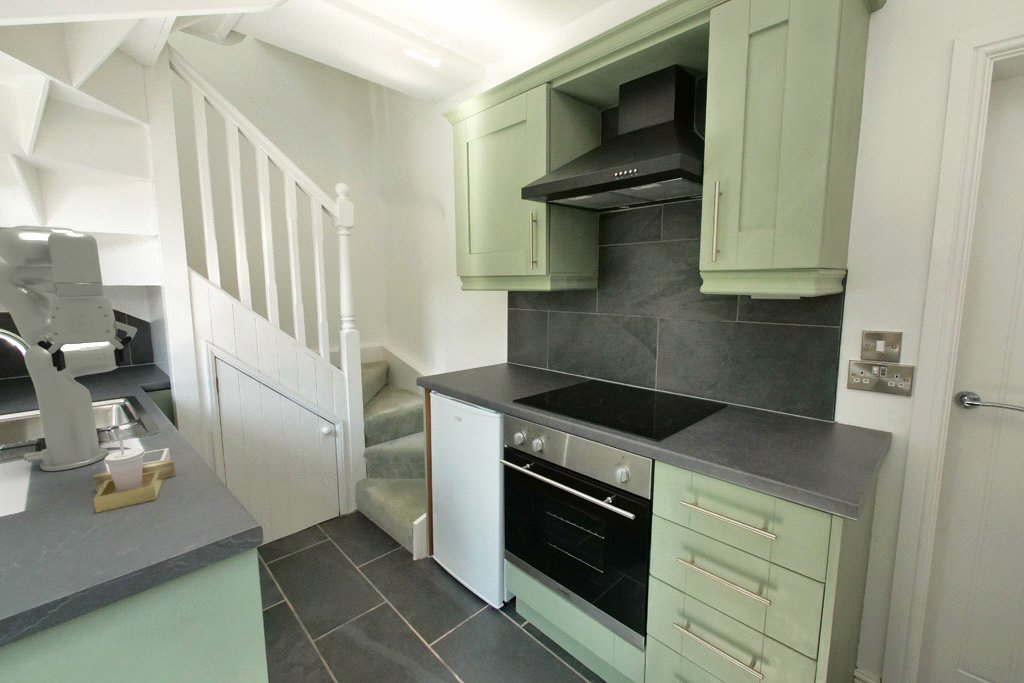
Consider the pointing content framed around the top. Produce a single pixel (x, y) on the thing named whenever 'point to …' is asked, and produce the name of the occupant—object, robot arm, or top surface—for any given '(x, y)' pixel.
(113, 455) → the smoothie
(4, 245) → the robot arm
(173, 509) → the top surface
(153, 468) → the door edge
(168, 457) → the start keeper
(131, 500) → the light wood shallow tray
